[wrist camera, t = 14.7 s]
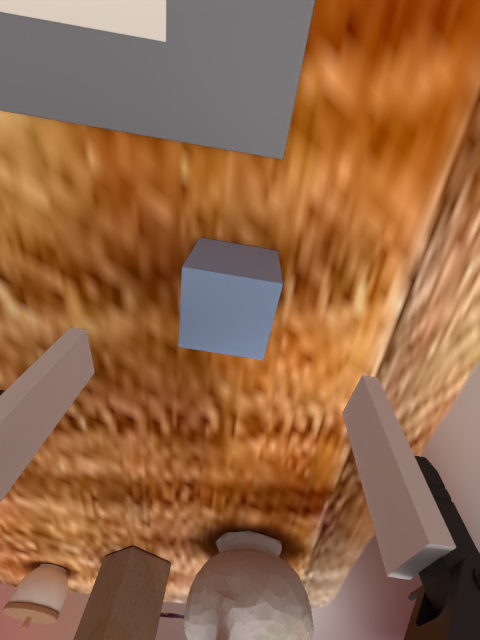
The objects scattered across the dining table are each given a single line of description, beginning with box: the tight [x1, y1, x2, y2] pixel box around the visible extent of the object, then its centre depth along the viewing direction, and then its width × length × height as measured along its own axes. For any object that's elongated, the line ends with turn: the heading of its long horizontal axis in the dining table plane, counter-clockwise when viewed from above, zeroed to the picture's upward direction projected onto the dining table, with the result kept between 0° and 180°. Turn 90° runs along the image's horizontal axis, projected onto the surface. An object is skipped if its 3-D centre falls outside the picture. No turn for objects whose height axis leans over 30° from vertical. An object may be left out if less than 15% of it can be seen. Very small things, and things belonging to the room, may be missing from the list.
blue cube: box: [178, 237, 283, 360], centre depth 21 cm, size 6×6×6 cm
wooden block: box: [74, 546, 171, 640], centre depth 50 cm, size 10×10×20 cm
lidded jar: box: [3, 564, 68, 629], centre depth 61 cm, size 11×11×9 cm
